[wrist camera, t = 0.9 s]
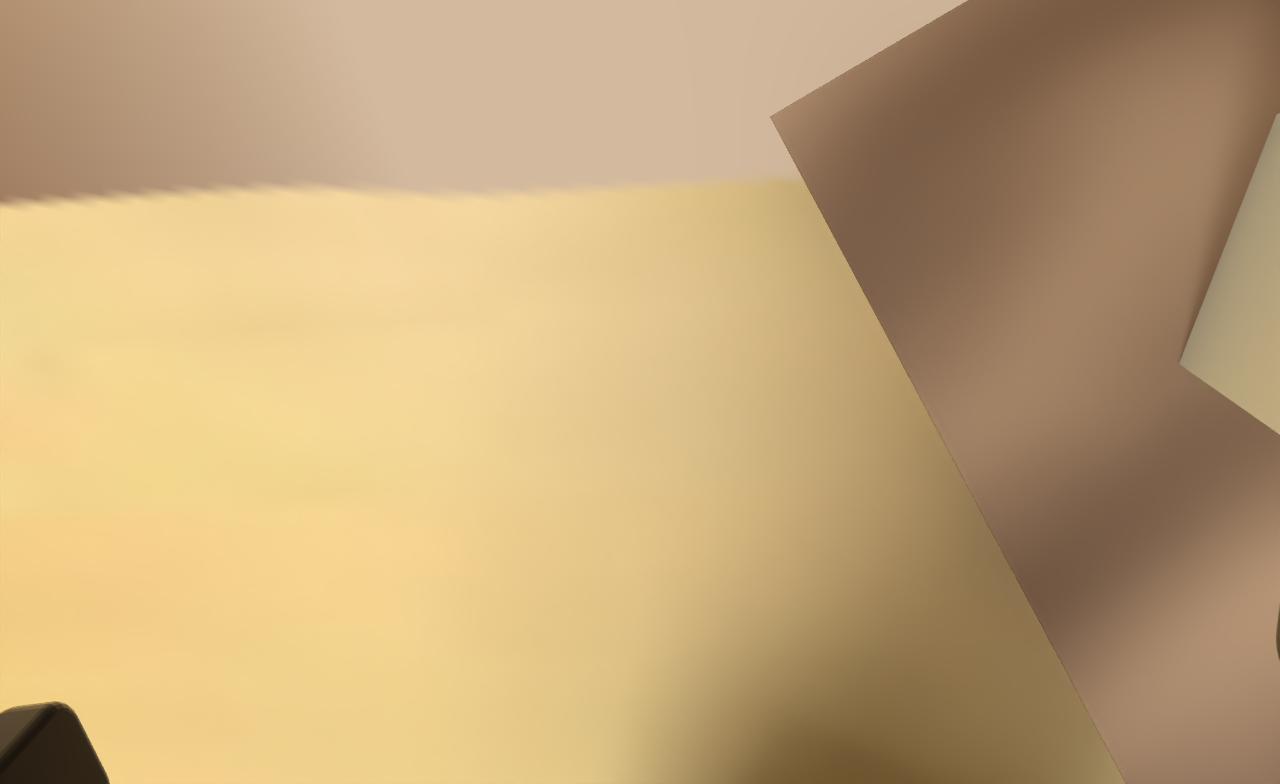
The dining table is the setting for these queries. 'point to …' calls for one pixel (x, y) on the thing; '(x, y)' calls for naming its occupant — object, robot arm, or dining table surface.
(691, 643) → the dining table surface
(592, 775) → the dining table surface
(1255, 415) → the tea box
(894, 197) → the shelf board
